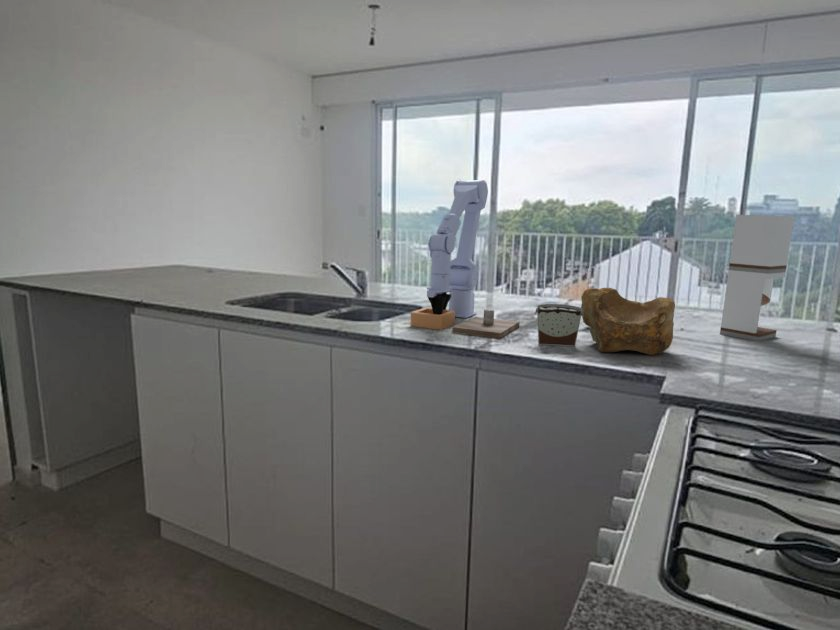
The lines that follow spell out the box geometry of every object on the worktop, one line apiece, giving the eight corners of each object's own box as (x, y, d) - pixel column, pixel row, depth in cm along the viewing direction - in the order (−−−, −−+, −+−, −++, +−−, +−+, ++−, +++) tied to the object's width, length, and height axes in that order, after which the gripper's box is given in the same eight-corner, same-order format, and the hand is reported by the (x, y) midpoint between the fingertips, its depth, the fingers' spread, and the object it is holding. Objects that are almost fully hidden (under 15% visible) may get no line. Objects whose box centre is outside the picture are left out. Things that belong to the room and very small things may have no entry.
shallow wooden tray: (424, 320, 167) (425, 307, 166) (454, 323, 163) (455, 310, 162) (410, 325, 158) (410, 312, 157) (441, 329, 154) (442, 316, 153)
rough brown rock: (563, 352, 136) (569, 294, 131) (580, 335, 149) (586, 282, 145) (663, 371, 124) (672, 308, 120) (671, 350, 138) (680, 294, 134)
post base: (475, 321, 168) (476, 304, 167) (519, 326, 162) (520, 308, 161) (452, 332, 151) (453, 313, 150) (500, 338, 145) (501, 318, 144)
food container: (576, 341, 145) (579, 304, 143) (581, 346, 139) (584, 308, 137) (530, 338, 146) (532, 302, 144) (532, 344, 140) (535, 306, 138)
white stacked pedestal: (758, 341, 152) (777, 215, 145) (719, 333, 160) (736, 214, 154) (775, 336, 158) (794, 216, 152) (737, 330, 167) (753, 215, 160)
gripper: (438, 270, 170) (436, 312, 172) (418, 274, 157) (416, 320, 159) (458, 272, 167) (457, 315, 169) (440, 276, 154) (438, 322, 156)
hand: (438, 317), depth 164 cm, fingers closed on shallow wooden tray
